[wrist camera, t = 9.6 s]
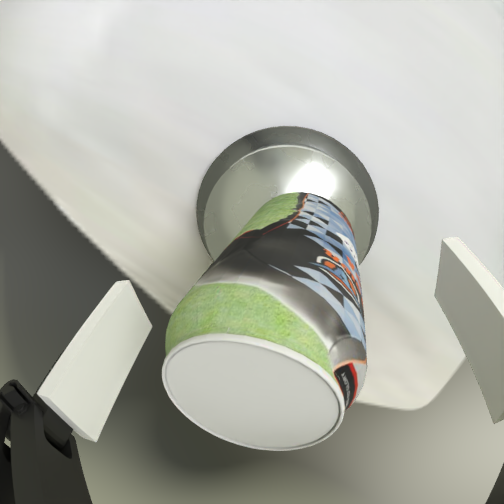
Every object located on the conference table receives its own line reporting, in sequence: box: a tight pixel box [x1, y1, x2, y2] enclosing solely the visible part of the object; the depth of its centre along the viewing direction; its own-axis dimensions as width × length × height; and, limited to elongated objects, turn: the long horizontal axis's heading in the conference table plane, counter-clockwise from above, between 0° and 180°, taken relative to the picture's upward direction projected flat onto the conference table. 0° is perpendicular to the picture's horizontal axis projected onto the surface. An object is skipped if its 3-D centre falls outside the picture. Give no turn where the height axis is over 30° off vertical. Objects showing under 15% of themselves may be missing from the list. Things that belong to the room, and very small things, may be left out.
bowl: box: [197, 126, 379, 265], centre depth 18 cm, size 12×12×2 cm
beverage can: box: [162, 192, 367, 451], centre depth 12 cm, size 6×7×12 cm
